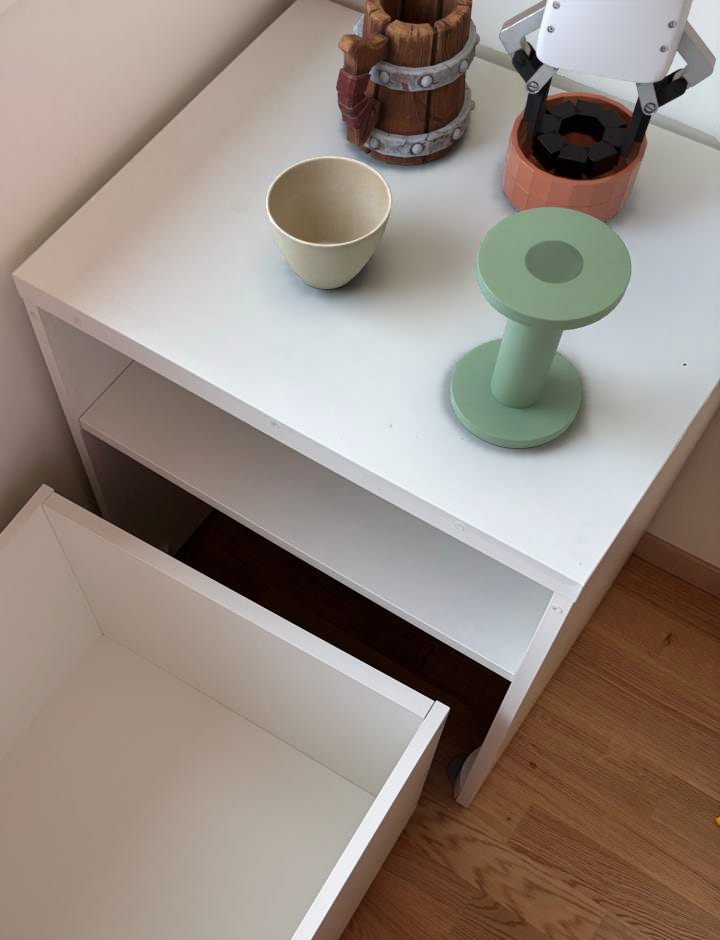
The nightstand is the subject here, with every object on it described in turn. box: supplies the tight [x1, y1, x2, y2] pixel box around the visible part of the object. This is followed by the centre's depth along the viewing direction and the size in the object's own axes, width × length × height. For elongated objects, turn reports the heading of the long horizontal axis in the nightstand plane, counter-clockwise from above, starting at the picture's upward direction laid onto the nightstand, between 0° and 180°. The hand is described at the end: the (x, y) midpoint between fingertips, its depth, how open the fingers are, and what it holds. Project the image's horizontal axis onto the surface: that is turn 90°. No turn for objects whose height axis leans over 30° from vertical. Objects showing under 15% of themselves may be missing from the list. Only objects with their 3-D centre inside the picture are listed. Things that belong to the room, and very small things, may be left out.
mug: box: [335, 0, 481, 166], centre depth 86 cm, size 12×14×15 cm
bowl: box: [501, 91, 648, 223], centre depth 85 cm, size 11×11×5 cm
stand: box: [449, 207, 632, 449], centre depth 72 cm, size 10×10×14 cm
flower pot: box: [265, 155, 393, 290], centre depth 82 cm, size 10×10×7 cm
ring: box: [531, 99, 628, 180], centre depth 83 cm, size 7×7×2 cm
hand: (580, 135), depth 83 cm, fingers closed on ring, 7 cm apart
